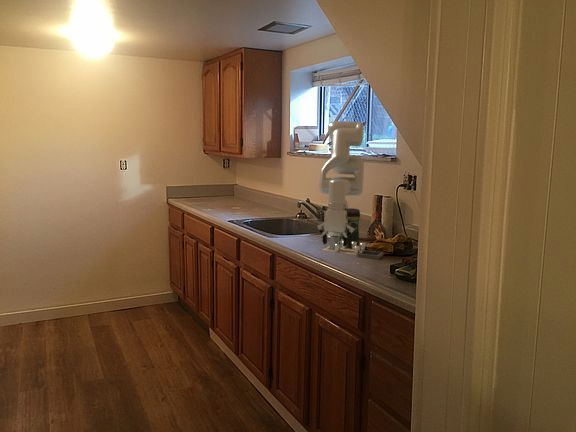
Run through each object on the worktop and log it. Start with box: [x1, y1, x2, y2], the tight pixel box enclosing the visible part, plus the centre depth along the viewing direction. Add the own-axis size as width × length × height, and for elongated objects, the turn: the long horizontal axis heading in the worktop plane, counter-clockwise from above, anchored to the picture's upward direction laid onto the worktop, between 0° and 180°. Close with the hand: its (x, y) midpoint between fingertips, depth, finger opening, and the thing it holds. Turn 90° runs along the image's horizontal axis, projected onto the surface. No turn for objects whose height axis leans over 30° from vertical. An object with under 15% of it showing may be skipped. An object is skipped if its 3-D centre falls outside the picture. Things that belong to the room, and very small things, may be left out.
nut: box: [329, 236, 342, 251], centre depth 238 cm, size 4×5×6 cm
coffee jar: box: [339, 207, 361, 249], centre depth 246 cm, size 10×8×19 cm
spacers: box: [334, 241, 366, 255], centre depth 236 cm, size 11×11×4 cm
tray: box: [357, 249, 384, 260], centre depth 226 cm, size 9×9×2 cm
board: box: [320, 245, 361, 256], centre depth 237 cm, size 12×18×1 cm, turn 67°
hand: (334, 244), depth 238 cm, fingers open, 9 cm apart
